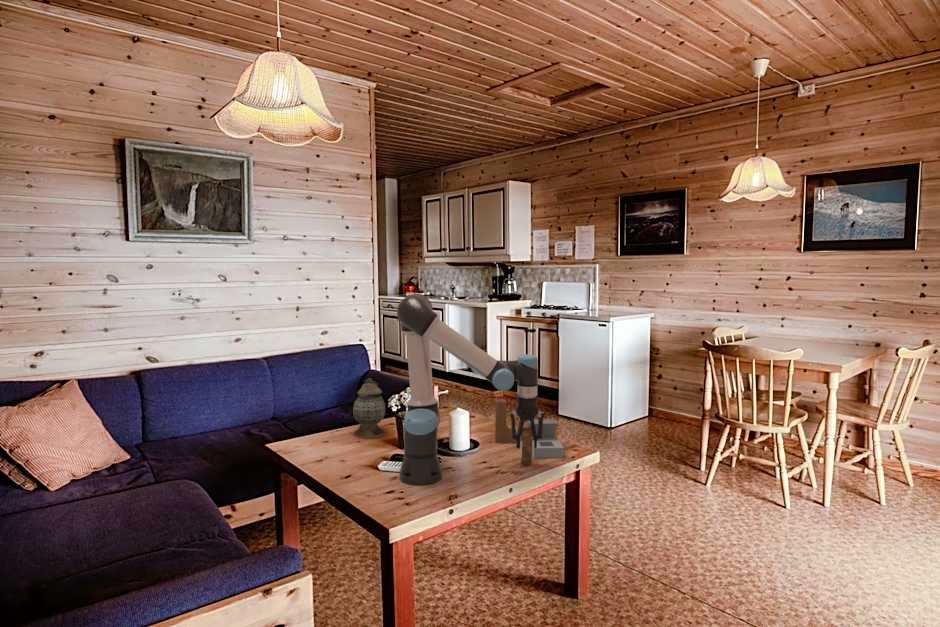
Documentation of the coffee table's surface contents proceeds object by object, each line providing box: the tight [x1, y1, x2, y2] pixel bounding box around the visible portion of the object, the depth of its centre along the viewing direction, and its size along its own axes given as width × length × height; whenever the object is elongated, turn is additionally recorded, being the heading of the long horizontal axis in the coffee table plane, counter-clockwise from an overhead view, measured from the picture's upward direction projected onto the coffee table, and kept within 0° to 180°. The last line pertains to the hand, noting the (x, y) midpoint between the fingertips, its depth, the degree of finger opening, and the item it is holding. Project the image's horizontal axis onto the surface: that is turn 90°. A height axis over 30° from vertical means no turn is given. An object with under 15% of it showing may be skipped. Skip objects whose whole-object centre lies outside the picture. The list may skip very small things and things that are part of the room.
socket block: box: [526, 418, 565, 459], centre depth 231 cm, size 12×16×11 cm
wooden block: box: [494, 398, 517, 444], centre depth 243 cm, size 9×4×18 cm, turn 89°
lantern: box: [352, 377, 386, 440], centre depth 253 cm, size 14×14×25 cm
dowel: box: [520, 426, 533, 467], centre depth 217 cm, size 4×4×14 cm
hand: (526, 456), depth 217 cm, fingers closed on dowel, 4 cm apart
